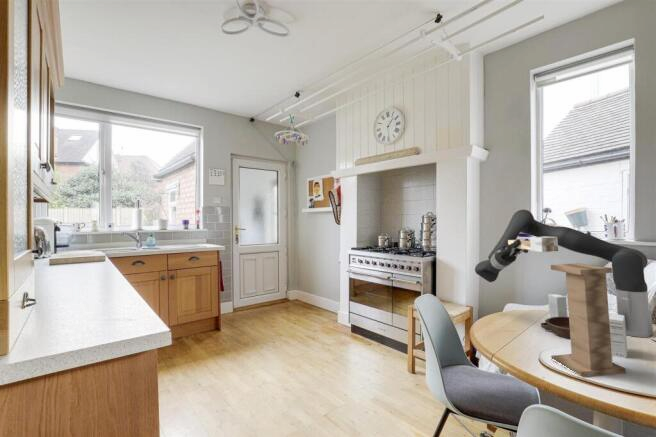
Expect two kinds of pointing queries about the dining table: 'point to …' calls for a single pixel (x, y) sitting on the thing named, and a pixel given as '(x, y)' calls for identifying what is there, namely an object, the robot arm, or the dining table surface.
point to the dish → (558, 326)
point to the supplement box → (618, 335)
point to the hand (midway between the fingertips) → (523, 241)
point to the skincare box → (557, 305)
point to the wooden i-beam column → (588, 321)
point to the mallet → (539, 244)
